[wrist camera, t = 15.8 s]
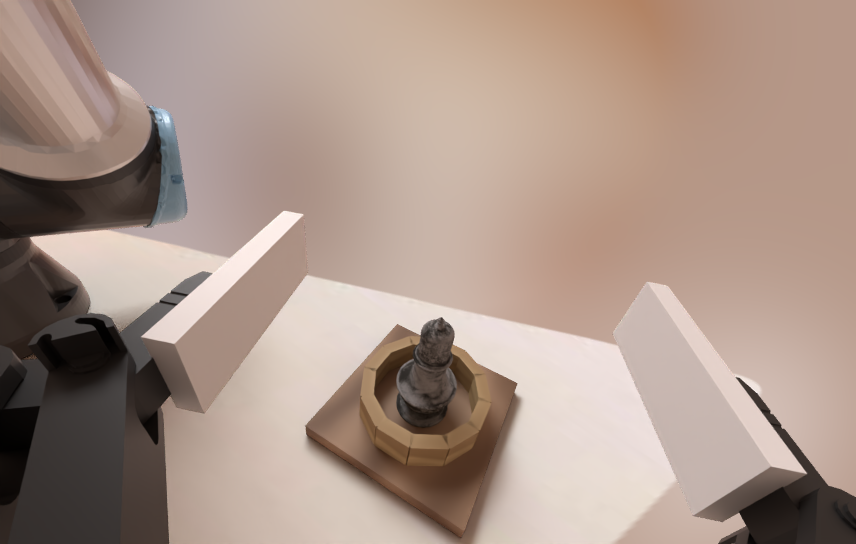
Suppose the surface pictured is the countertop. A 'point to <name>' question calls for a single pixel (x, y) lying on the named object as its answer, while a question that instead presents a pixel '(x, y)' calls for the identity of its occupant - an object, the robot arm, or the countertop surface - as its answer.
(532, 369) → the countertop surface
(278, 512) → the countertop surface
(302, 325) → the countertop surface
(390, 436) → the collar stand
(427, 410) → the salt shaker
